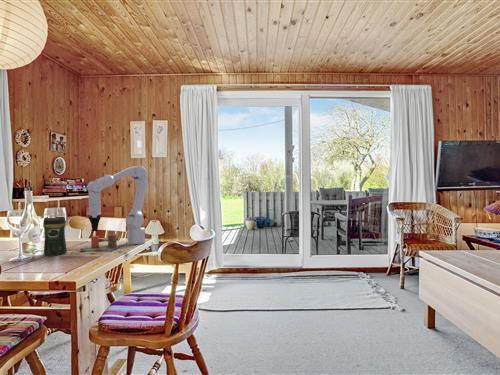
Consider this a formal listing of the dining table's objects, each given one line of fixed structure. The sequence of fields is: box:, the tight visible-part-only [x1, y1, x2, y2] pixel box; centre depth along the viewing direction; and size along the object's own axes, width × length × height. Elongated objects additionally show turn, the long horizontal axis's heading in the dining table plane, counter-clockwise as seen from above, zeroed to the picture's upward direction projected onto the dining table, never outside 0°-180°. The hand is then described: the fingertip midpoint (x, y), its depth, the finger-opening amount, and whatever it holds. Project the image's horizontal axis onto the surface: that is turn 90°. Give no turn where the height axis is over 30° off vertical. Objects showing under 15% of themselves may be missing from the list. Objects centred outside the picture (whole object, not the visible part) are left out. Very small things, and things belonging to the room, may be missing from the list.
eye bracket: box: [81, 232, 119, 253], centre depth 180 cm, size 17×12×7 cm
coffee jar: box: [42, 216, 68, 257], centre depth 166 cm, size 10×8×19 cm
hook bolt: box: [90, 235, 121, 248], centre depth 181 cm, size 14×4×6 cm, turn 114°
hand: (95, 230), depth 179 cm, fingers open, 7 cm apart
